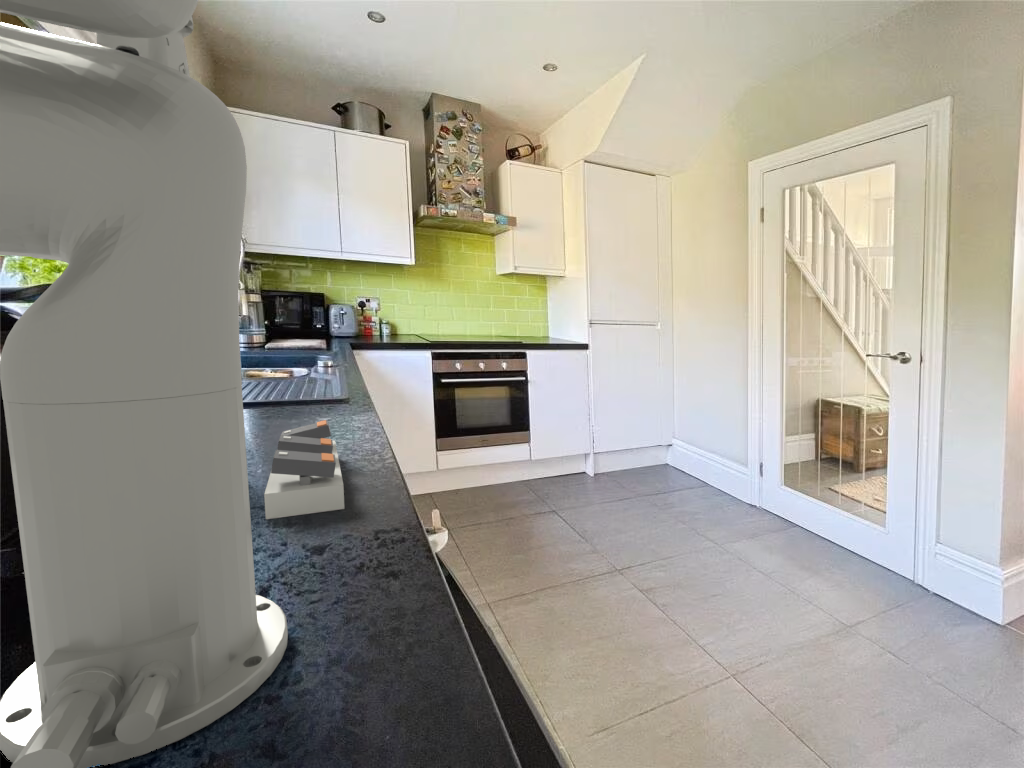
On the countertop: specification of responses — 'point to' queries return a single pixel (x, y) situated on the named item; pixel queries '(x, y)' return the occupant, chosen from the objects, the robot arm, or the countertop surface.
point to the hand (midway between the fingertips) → (158, 214)
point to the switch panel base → (304, 493)
